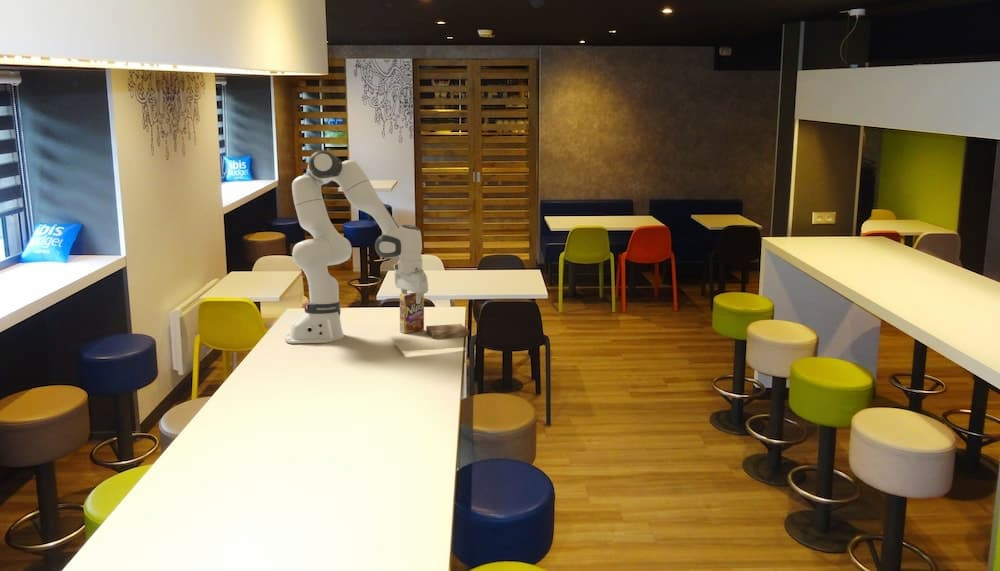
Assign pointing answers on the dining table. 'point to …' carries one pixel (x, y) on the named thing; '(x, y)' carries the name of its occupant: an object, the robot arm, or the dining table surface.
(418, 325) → the candy box
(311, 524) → the dining table surface
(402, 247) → the robot arm
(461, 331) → the walnut dock
